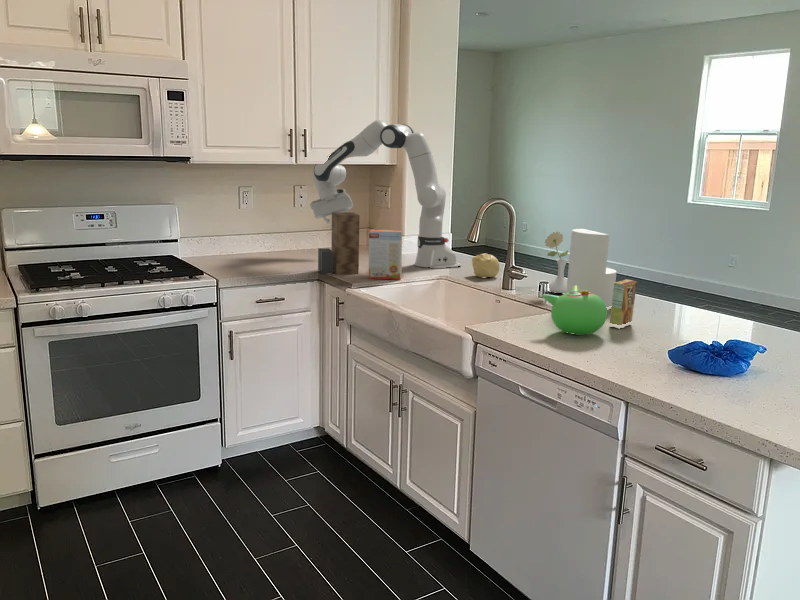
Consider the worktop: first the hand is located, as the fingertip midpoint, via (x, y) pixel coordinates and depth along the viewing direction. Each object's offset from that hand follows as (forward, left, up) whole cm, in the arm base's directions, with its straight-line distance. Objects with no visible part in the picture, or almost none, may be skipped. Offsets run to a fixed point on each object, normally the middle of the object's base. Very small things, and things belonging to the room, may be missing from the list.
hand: (337, 220), depth 337 cm
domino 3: (+13, +41, -19) cm, 47 cm away
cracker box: (-10, +55, -19) cm, 59 cm away
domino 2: (+13, +38, -19) cm, 44 cm away
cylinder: (-73, +116, -19) cm, 139 cm away
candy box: (-67, +145, -19) cm, 161 cm away
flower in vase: (-72, +94, -19) cm, 120 cm away
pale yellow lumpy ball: (-56, +58, -19) cm, 83 cm away
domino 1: (+13, +34, -19) cm, 41 cm away
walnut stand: (+4, +37, -19) cm, 42 cm away
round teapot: (-47, +150, -19) cm, 159 cm away
